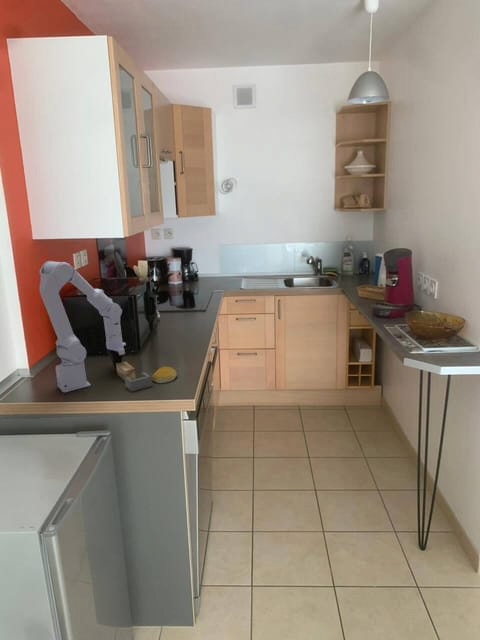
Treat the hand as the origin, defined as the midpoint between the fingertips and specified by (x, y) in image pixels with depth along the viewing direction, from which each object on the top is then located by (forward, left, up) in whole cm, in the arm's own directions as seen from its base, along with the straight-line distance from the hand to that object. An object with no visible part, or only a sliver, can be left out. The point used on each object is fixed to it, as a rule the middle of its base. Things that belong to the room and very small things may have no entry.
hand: (117, 368), depth 179 cm
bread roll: (+10, -20, -1) cm, 22 cm away
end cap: (0, -21, -1) cm, 21 cm away
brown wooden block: (0, -9, -1) cm, 9 cm away
